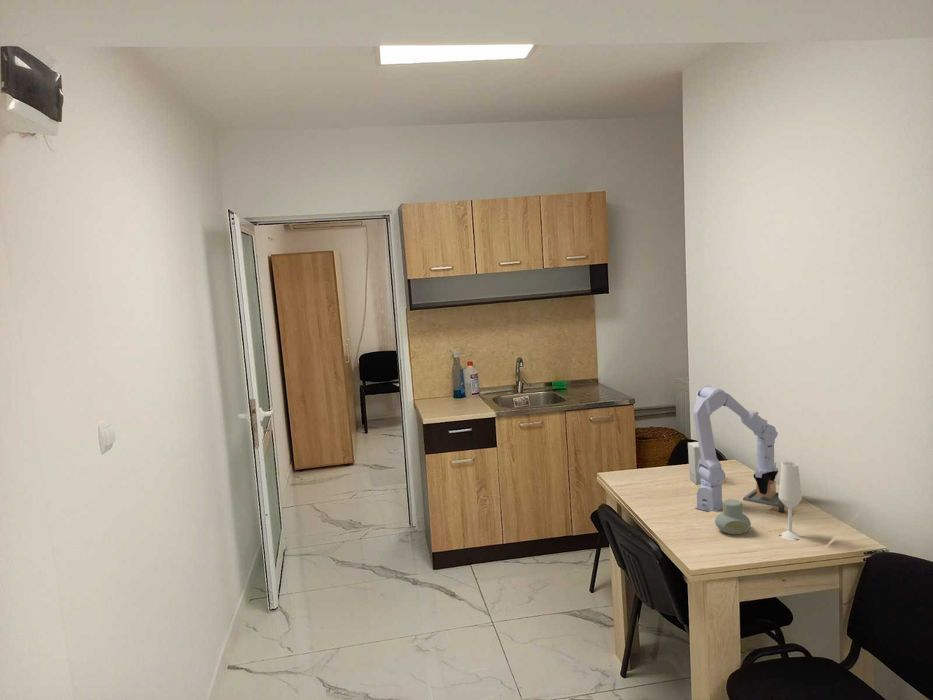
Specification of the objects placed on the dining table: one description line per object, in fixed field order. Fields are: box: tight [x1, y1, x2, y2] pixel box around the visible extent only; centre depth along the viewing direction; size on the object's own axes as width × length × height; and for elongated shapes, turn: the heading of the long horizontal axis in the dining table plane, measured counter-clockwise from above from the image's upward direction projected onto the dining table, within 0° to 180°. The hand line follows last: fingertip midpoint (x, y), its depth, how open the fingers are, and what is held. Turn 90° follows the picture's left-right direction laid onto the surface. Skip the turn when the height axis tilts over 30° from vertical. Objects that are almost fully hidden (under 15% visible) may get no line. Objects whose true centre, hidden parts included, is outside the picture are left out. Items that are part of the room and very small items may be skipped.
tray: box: [742, 488, 780, 507], centre depth 245 cm, size 12×12×2 cm
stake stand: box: [765, 501, 798, 519], centre depth 232 cm, size 8×8×4 cm
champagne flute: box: [778, 461, 803, 542], centre depth 211 cm, size 7×7×24 cm
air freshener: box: [714, 498, 751, 536], centre depth 219 cm, size 11×8×10 cm
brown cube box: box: [755, 480, 777, 498], centre depth 245 cm, size 5×6×5 cm
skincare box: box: [687, 441, 701, 485], centre depth 269 cm, size 8×7×16 cm
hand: (766, 491), depth 245 cm, fingers closed on brown cube box, 5 cm apart
